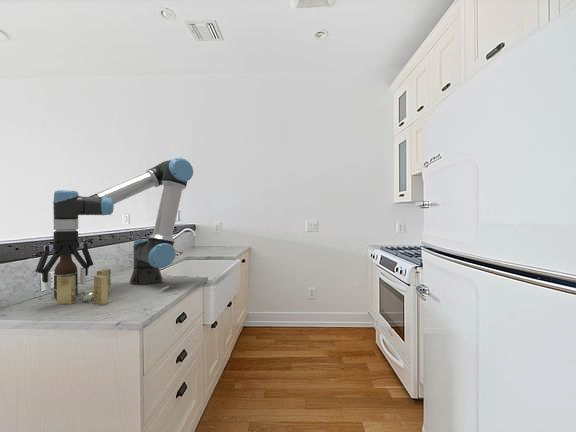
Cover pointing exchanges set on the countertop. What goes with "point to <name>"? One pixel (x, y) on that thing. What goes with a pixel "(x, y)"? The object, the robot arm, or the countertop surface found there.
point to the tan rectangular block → (66, 289)
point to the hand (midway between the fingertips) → (66, 287)
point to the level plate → (87, 296)
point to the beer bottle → (65, 270)
